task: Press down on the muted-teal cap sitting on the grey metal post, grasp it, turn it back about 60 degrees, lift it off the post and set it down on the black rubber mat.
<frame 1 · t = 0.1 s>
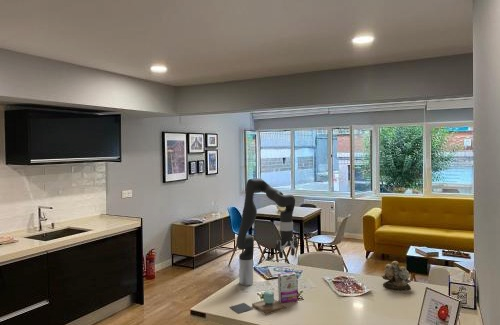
hand: (286, 256, 217), 29 cm above the table, fingers open, 8 cm apart
owl figurine: (395, 287, 245), on the table
mat: (241, 308, 216), on the table
post base: (269, 307, 217), on the table
cap: (268, 301, 217), point 3 cm above the table, touching post base
candy bar box: (288, 300, 226), on the table
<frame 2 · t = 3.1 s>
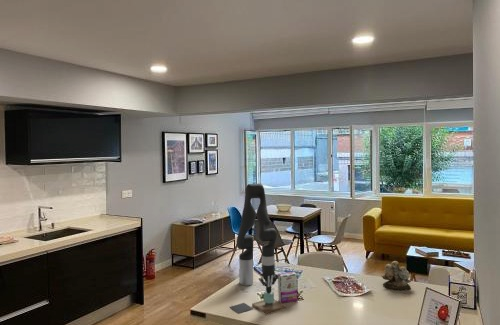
hand: (268, 292, 217), 9 cm above the table, fingers closed
nothing on the table moved.
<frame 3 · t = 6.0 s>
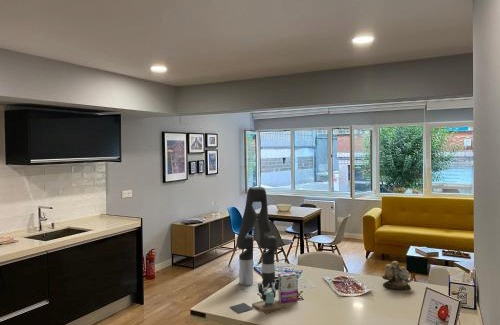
hand: (268, 299, 217), 5 cm above the table, fingers closed on cap, 6 cm apart
cap: (268, 301, 217), point 4 cm above the table, touching gripper, post base
everything else where it was.
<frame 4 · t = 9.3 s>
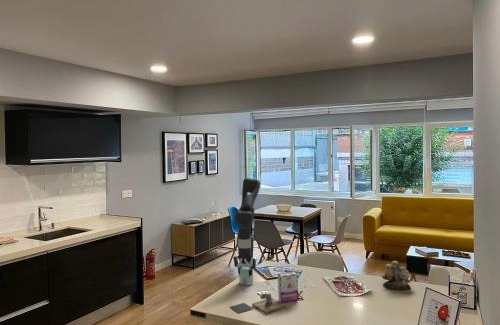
hand: (245, 274, 216), 20 cm above the table, fingers closed on cap, 6 cm apart
cap: (245, 277, 216), point 18 cm above the table, touching gripper
everything else where it was.
when the fingers open (4 cm above the table, at t = 12.6 s): cap drops 2 cm, resting on mat.
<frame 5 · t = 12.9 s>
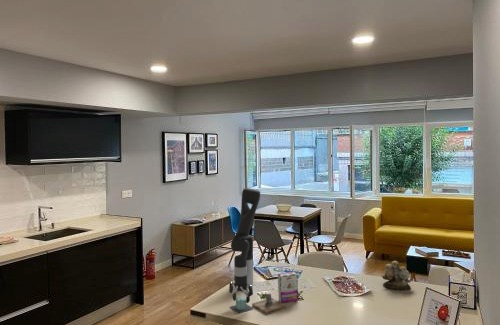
hand: (241, 301, 216), 4 cm above the table, fingers open, 8 cm apart
cap: (241, 307, 216), resting on mat
everything else where it was.
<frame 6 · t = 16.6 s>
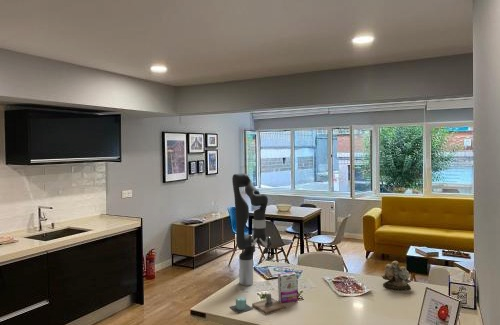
hand: (260, 252, 230), 28 cm above the table, fingers open, 8 cm apart
nothing on the table moved.
at the end: cap inside the target area on the mat (0.1 cm from its centre), point 0.4 cm above the mat's base; cap tilted 0°; cap touching mat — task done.
